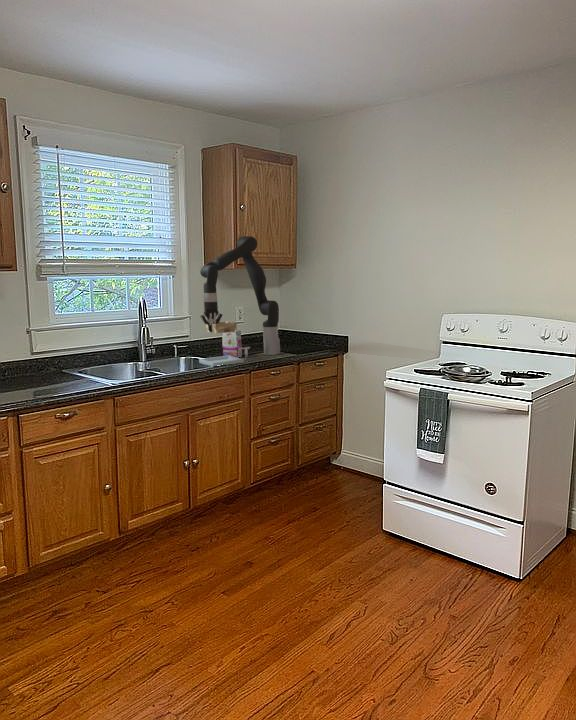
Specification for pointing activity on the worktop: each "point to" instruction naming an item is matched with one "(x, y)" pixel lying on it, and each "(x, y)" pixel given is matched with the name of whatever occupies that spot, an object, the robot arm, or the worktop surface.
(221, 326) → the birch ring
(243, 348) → the steel T-stake
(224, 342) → the candy bar box
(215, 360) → the tray
